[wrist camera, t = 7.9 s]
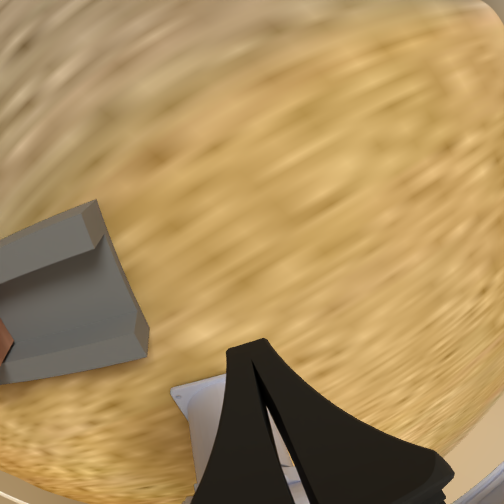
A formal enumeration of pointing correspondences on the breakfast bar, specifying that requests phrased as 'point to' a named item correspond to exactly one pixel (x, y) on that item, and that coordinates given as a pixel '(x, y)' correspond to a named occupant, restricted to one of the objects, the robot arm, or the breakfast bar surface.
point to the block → (4, 341)
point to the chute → (66, 299)
